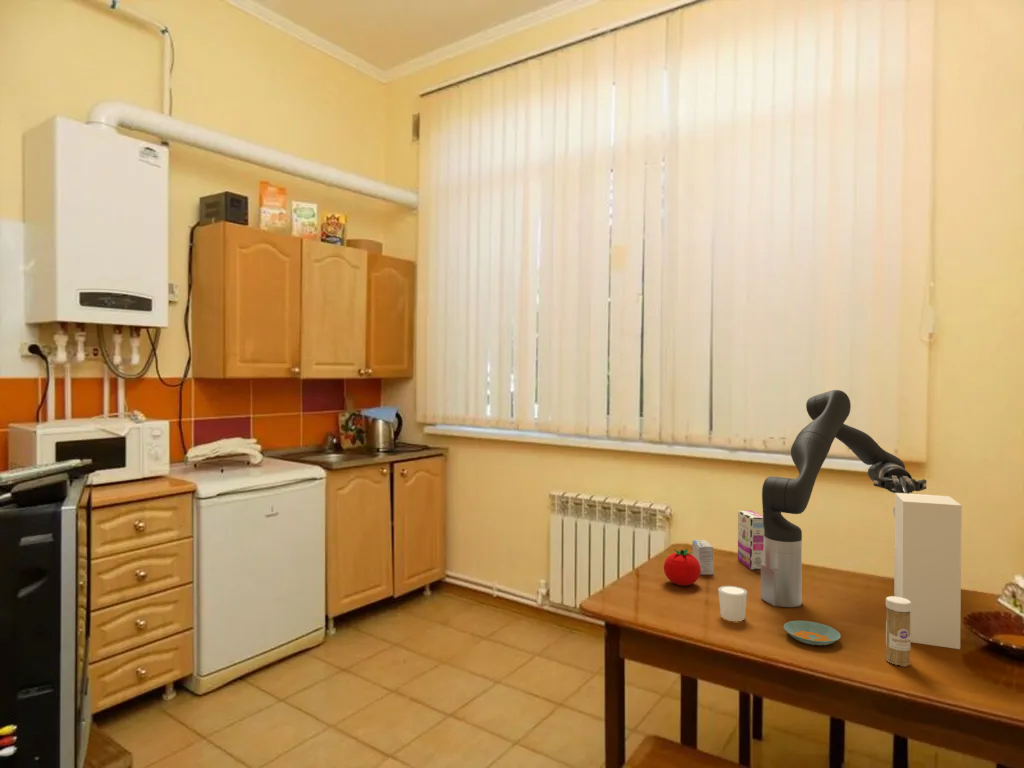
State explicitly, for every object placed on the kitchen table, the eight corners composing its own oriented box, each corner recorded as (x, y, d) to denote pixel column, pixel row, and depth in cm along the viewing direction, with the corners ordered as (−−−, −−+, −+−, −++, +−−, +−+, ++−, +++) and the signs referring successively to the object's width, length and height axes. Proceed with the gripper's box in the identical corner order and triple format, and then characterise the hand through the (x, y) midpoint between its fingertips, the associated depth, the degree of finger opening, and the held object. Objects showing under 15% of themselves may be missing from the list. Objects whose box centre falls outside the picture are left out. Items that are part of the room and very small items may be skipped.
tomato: (657, 585, 179) (657, 550, 179) (673, 576, 187) (673, 543, 187) (691, 593, 172) (691, 557, 172) (706, 583, 180) (707, 549, 180)
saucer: (791, 625, 151) (791, 615, 151) (845, 638, 143) (845, 628, 143) (777, 641, 142) (777, 631, 142) (833, 656, 134) (833, 645, 134)
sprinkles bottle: (897, 668, 128) (897, 604, 128) (880, 658, 133) (880, 596, 132) (916, 666, 129) (916, 602, 129) (898, 656, 134) (898, 594, 133)
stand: (960, 649, 137) (961, 505, 136) (902, 640, 141) (903, 501, 141) (947, 630, 147) (949, 496, 146) (894, 622, 151) (894, 492, 151)
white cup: (717, 621, 153) (717, 593, 153) (718, 610, 159) (718, 583, 159) (747, 624, 151) (747, 596, 151) (746, 614, 157) (747, 586, 157)
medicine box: (713, 575, 188) (713, 546, 187) (699, 575, 188) (699, 546, 188) (706, 567, 195) (706, 539, 195) (692, 567, 196) (692, 539, 195)
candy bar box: (766, 570, 192) (766, 517, 191) (750, 570, 192) (750, 518, 191) (752, 559, 203) (752, 509, 202) (737, 559, 203) (737, 509, 202)
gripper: (868, 464, 186) (876, 473, 170) (922, 467, 180) (936, 476, 165) (867, 489, 186) (876, 500, 170) (922, 492, 181) (935, 504, 165)
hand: (905, 488), depth 167 cm, fingers closed
